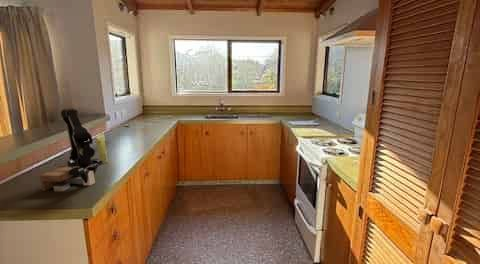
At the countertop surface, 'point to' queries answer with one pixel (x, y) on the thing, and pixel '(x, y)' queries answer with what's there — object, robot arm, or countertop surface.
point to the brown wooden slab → (55, 177)
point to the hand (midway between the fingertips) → (88, 181)
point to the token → (61, 186)
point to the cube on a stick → (80, 181)
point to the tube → (101, 148)
